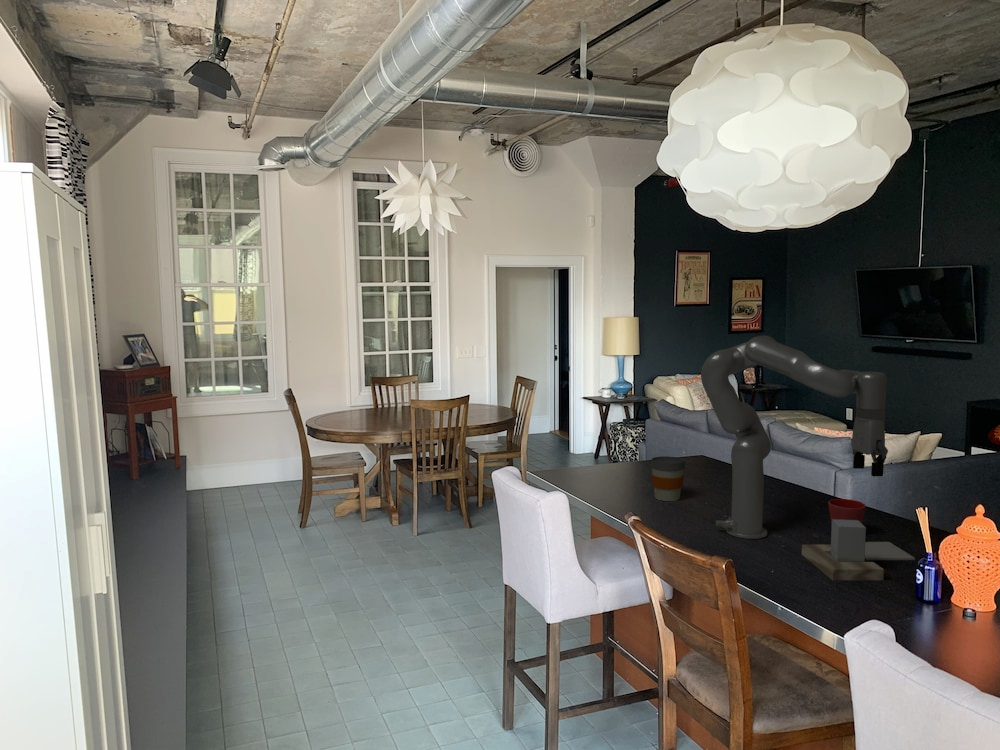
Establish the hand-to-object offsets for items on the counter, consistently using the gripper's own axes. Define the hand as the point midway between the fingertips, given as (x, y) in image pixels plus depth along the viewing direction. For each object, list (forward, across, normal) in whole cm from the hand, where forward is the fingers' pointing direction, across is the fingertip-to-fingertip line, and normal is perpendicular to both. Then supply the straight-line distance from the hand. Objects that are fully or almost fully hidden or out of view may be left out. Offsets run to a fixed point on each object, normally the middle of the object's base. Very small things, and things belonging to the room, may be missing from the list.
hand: (867, 472), depth 214 cm
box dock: (+24, +11, -13) cm, 30 cm away
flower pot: (+24, -18, +4) cm, 31 cm away
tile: (+24, 0, +4) cm, 25 cm away
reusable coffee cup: (+24, -62, -42) cm, 78 cm away
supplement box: (+24, +11, -11) cm, 29 cm away
